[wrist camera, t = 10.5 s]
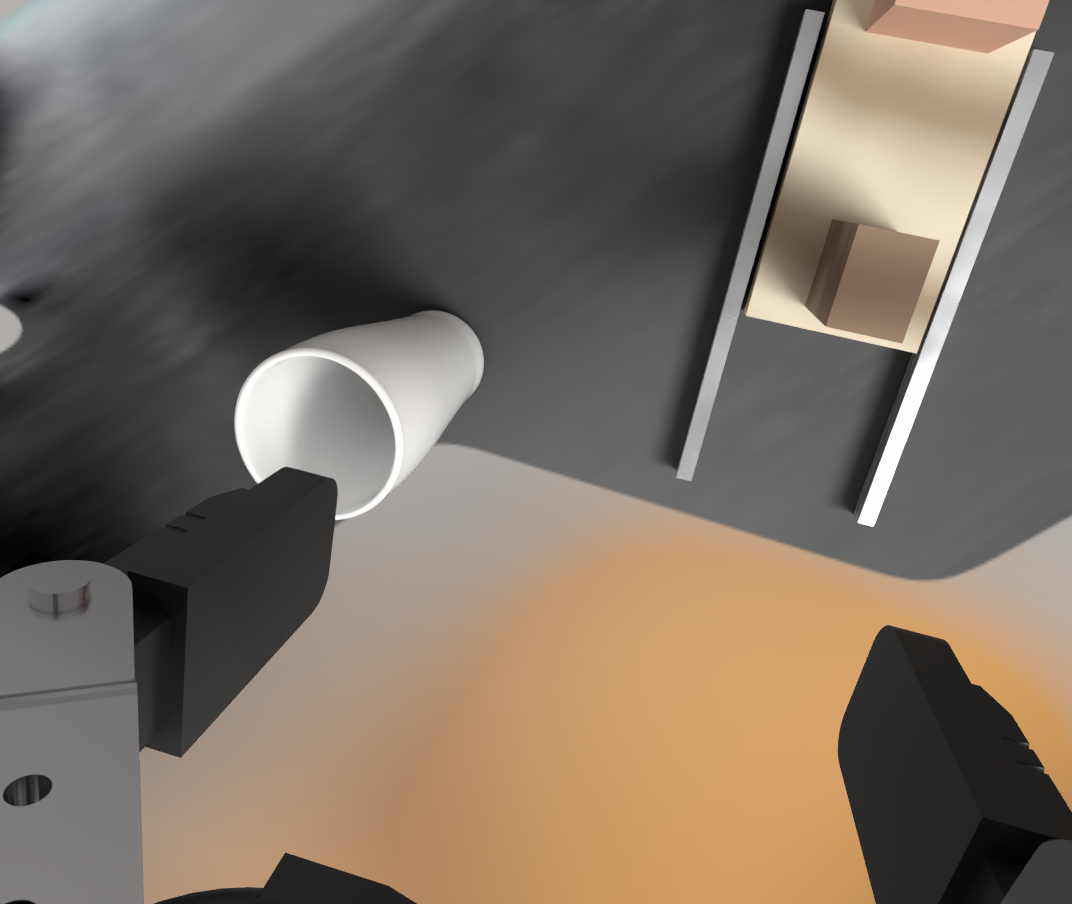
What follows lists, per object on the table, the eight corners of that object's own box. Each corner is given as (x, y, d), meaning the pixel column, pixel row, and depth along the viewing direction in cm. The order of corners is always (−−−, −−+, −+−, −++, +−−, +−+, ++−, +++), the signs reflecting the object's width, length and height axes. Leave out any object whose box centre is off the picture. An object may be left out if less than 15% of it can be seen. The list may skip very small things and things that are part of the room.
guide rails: (802, 15, 34) (806, 9, 33) (1041, 57, 33) (1054, 52, 32) (676, 470, 42) (676, 477, 41) (868, 517, 41) (873, 526, 40)
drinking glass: (508, 412, 43) (419, 518, 29) (392, 422, 44) (254, 528, 30) (489, 287, 41) (384, 336, 27) (369, 302, 42) (209, 356, 28)
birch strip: (899, -231, 31) (960, -356, 24) (1109, -202, 30) (1236, -322, 23) (743, 311, 38) (755, 336, 31) (908, 347, 38) (957, 382, 31)
